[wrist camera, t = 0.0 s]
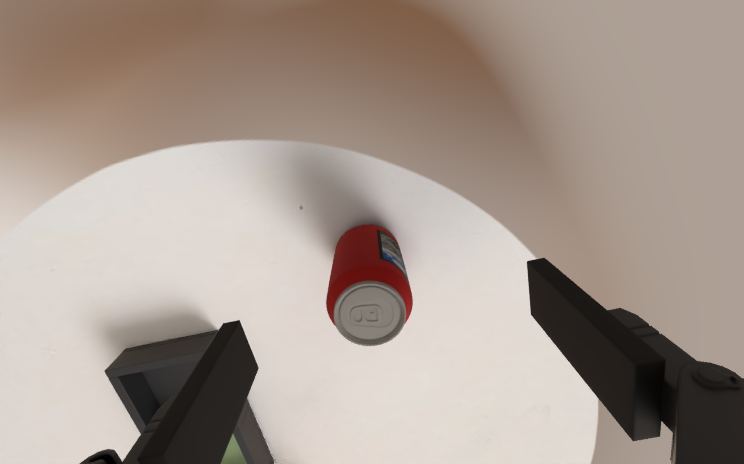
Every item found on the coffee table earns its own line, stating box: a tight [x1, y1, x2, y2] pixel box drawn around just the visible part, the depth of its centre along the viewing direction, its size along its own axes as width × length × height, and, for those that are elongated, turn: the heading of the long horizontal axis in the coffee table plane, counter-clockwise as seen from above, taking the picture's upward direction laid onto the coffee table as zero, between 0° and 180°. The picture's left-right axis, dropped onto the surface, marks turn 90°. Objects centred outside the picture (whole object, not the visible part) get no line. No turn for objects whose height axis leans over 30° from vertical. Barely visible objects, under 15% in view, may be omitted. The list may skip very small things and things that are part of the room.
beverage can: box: [326, 225, 413, 346], centre depth 32 cm, size 7×7×12 cm
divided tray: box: [105, 330, 274, 464], centre depth 42 cm, size 21×11×4 cm, turn 12°
